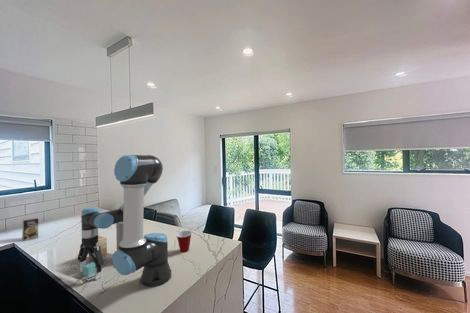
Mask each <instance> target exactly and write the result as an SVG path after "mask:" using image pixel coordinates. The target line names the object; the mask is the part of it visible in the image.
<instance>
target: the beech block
mask: <svg viewBox="0 0 470 313" xmlns="http://www.w3.org/2000/svg"><path fill="white" fill-rule="evenodd" d="M107 242H108V240H107V237H106V236H102V235H98V242H97V243H96V247H98V246H100V249H102V248H105V247H107V248H108V245H107V244H108V243H107Z"/></svg>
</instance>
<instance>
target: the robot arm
mask: <svg viewBox="0 0 470 313" xmlns="http://www.w3.org/2000/svg"><path fill="white" fill-rule="evenodd" d="M163 170H164V167H163V163H162V161H161V160H160V159H159V158H158V157H156V156H155V155H151V154H150V155H149V154H147V155H145V154H143V155H142V154H140V155H139V154H127V155H122V156H120V157H119V159H118V160H117V161H116V163H115V165H114V170H113V172H114V176H115V179H116V180H117V181H119V185H120V186H121V187H122V188H123V203H121V205H120V206H119V208H118V209H117V208H116V209H113V210H109V211H104V212H99V209H98V207H97V206H90V207H85V208H83V209H82V210H81V215H80V218H81V219H80V220H81V223H80V224H81V244H79V245H80V246H79V250H78V251H79V252H78V254H77V258H76V259H77V261H79V262H80V266H79V269H80V270H79V271H80V273H83V266H85V265H86V258H87V257H88V256H89V254H90V256H92V258H93V260H94V263H95V265H96V266H95V274H94V275H95V277H94V280H98V279H101V278H102V266H103V265H105V263H104V261H103V257H102V254H101V250H100V246H98V247H96V243H97V242H98V237H99V229H103V230H104V229H108V228H110V227H112V225H115V224H116V223H119V222H123V240H122V241H121V242H120V243H119V250H117V249H116V251H114V252H113V253H112V254H113V259H112V264H113V267H114V268H115V269H116V270H115V271H116V272H117V273H118V274H120V275H122V276H128V275H130V274H134V273H135V272H137V271H138V270H140V269H142V268H143V269H142V274H141V275H140V284H141V285H142V286H144V287H146V288H147V287H148V288H149V287H150V288H151V287H157V286H161V285H163V284H165V283H167V282H168V281H170V280H171V278H172V270H171V267H170V266H171V265H170V263H169V261H168V256H169V255H168V254H169V252H168V251H169V250H168V246H169V245H168V236H167V235H166V234H165V233H163V232H153V233H152V232H151V233H146V234H144V210H145V209H144V207H145V206H144V205H145V201H144V200H145V199H144V198H145V196H146V195H147V193H148V192H149V190H150V189H151V188H152V186H153V185H154V184H156V183H158V181H159V180H160V178H161V176H162V175H163ZM94 252H95V253H94ZM84 260H85V261H84Z"/></svg>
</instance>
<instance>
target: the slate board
mask: <svg viewBox="0 0 470 313" xmlns="http://www.w3.org/2000/svg"><path fill="white" fill-rule="evenodd" d="M113 254H114V253H110V252H107V256H106V257H104V258H103V261H104V264H105V263H106V262H109V261H113ZM84 261H85V260H84ZM92 262H93V263H94V260H91V259H89V256H87V257H86V265H87V264H90V263H92ZM72 264H73V265H77V266H79V267H80V262H79V260H77V261H73V263H72Z"/></svg>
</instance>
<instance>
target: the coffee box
mask: <svg viewBox="0 0 470 313" xmlns="http://www.w3.org/2000/svg"><path fill="white" fill-rule="evenodd" d="M21 233H22V235H21V236H22V238H21V239H22V241H23V242H26V241H31V240H35V239H39V218H30V219H23V220H22V232H21Z"/></svg>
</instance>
